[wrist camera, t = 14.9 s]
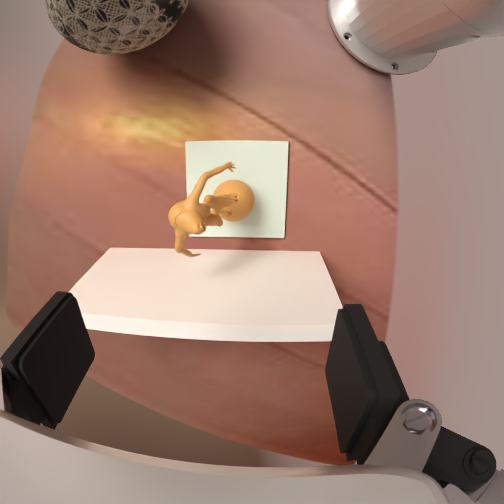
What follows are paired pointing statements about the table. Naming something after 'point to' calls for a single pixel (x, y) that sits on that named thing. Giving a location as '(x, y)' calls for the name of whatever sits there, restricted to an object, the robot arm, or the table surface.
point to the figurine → (210, 207)
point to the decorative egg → (114, 22)
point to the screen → (210, 295)
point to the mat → (250, 172)
